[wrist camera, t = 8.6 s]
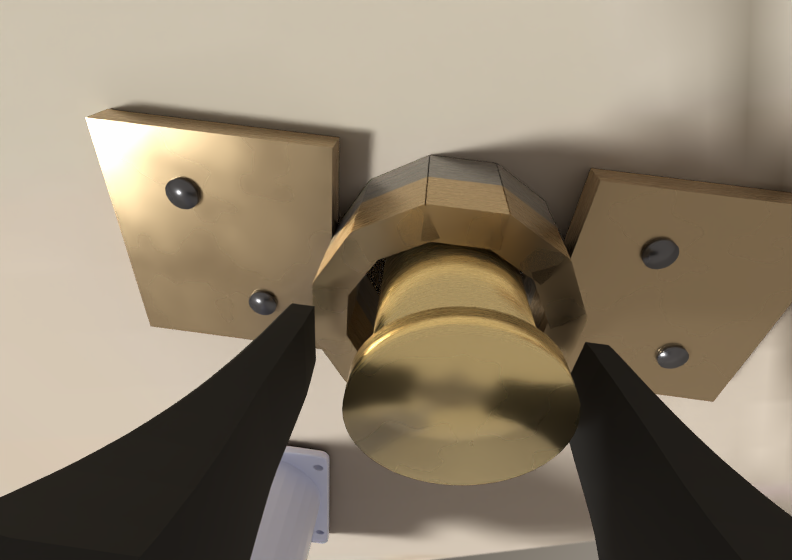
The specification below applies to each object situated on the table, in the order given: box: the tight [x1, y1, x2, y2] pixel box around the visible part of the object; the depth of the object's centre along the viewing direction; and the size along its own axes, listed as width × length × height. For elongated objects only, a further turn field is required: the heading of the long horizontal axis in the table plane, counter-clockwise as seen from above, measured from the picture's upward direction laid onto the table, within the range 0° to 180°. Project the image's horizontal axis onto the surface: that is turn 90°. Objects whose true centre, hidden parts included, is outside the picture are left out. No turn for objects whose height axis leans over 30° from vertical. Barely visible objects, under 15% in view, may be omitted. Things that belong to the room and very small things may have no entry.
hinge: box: [86, 109, 792, 402], centre depth 14 cm, size 8×22×4 cm, turn 85°
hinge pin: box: [342, 242, 580, 485], centre depth 12 cm, size 5×5×7 cm
